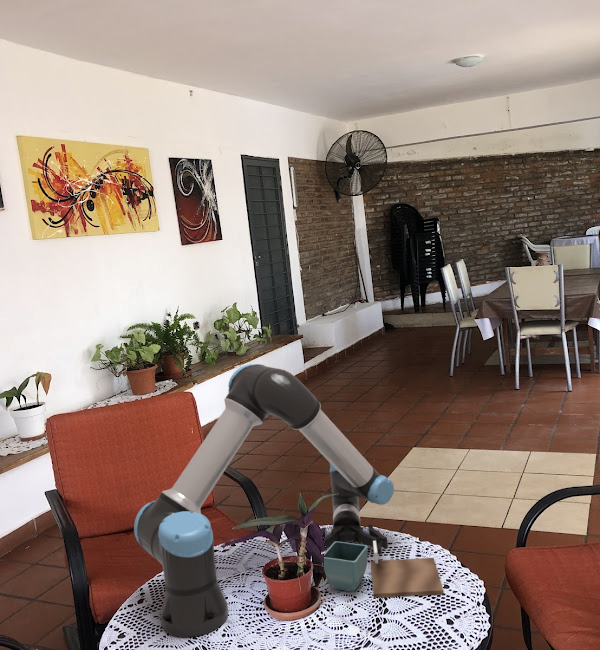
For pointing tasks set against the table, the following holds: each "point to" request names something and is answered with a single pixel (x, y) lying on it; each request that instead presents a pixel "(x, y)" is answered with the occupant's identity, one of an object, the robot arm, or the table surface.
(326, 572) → the flower pot
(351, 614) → the table surface
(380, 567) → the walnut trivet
